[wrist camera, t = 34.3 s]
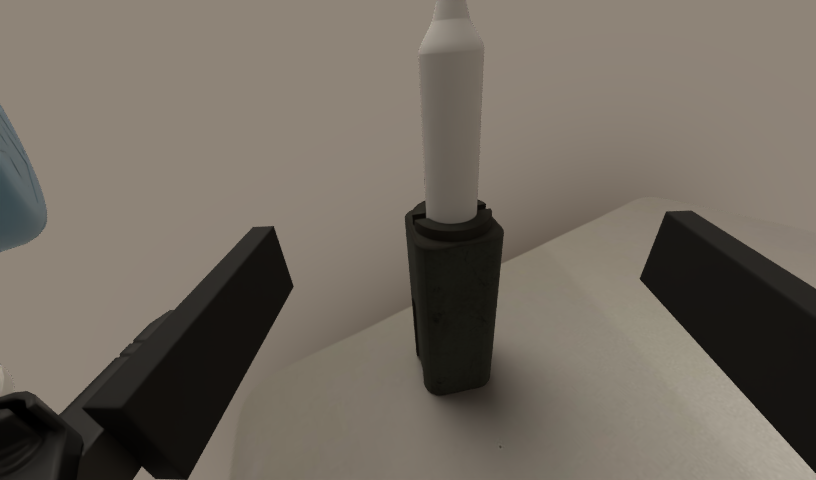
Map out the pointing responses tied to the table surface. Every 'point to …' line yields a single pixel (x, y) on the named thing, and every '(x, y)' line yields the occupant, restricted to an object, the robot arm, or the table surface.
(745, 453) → the table surface
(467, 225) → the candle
